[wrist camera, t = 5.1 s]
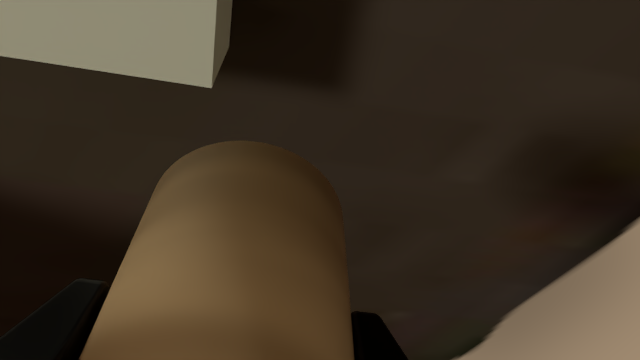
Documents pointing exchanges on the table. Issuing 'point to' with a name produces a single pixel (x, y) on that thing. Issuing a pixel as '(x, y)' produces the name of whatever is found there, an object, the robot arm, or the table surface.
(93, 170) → the table surface
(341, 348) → the peg
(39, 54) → the socket block
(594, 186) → the table surface
